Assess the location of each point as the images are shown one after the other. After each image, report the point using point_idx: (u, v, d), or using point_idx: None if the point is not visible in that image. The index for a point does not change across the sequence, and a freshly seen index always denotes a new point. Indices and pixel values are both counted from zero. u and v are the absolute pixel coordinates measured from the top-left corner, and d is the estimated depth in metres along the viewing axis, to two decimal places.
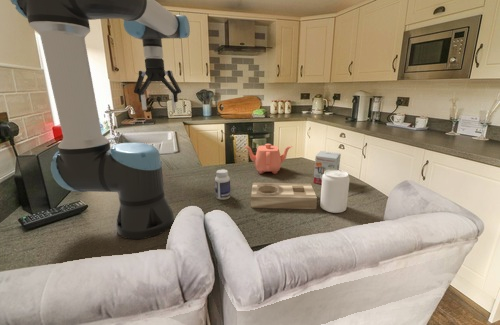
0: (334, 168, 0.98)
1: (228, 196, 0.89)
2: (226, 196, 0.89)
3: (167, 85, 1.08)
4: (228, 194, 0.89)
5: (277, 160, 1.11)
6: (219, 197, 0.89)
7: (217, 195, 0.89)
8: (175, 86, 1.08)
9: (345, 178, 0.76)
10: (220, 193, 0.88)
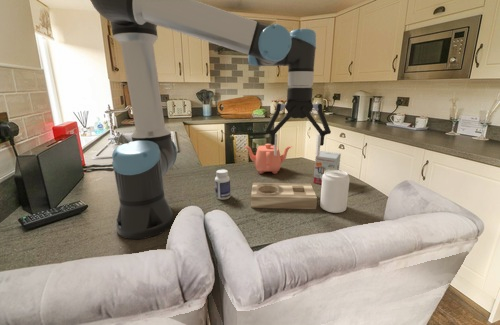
0: (334, 168, 0.98)
1: (228, 196, 0.89)
2: (226, 196, 0.89)
3: (315, 123, 0.78)
4: (228, 194, 0.89)
5: (277, 160, 1.11)
6: (219, 197, 0.89)
7: (217, 195, 0.89)
8: (326, 125, 0.78)
9: (345, 178, 0.76)
10: (220, 193, 0.88)
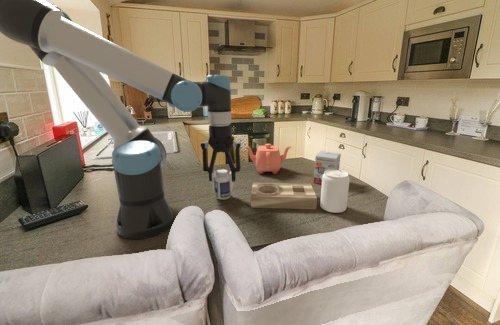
0: (334, 168, 0.98)
1: (228, 196, 0.89)
2: (226, 196, 0.89)
3: (229, 160, 0.86)
4: (228, 194, 0.89)
5: (277, 160, 1.11)
6: (219, 197, 0.89)
7: (217, 195, 0.89)
8: (237, 163, 0.86)
9: (345, 178, 0.76)
10: (220, 193, 0.88)
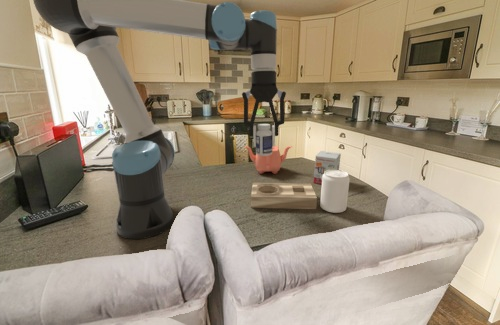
0: (334, 168, 0.98)
1: (270, 152, 0.82)
2: (268, 152, 0.81)
3: (273, 111, 0.79)
4: (270, 150, 0.82)
5: (277, 160, 1.11)
6: (261, 153, 0.81)
7: (259, 151, 0.82)
8: (282, 114, 0.79)
9: (345, 178, 0.76)
10: (262, 148, 0.81)
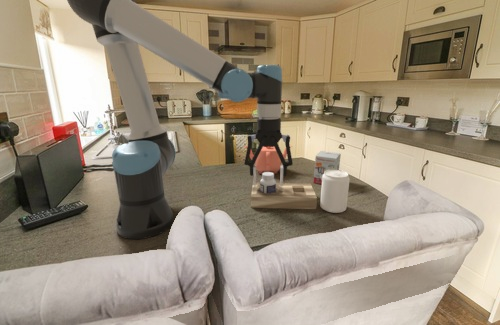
0: (334, 168, 0.98)
1: None
2: None
3: (280, 154, 0.82)
4: None
5: (277, 160, 1.11)
6: None
7: None
8: (289, 157, 0.82)
9: (345, 178, 0.76)
10: None
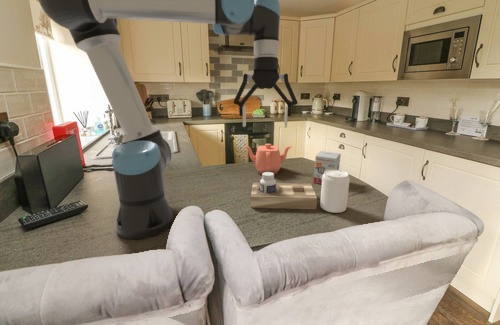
0: (334, 168, 0.98)
1: None
2: None
3: (281, 94, 0.79)
4: None
5: (277, 160, 1.11)
6: None
7: None
8: (292, 95, 0.79)
9: (345, 178, 0.76)
10: None
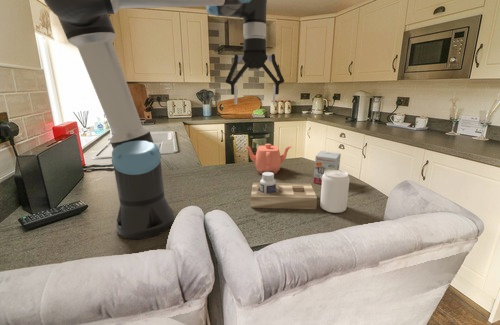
0: (334, 168, 0.98)
1: None
2: None
3: (269, 73, 0.86)
4: None
5: (277, 160, 1.11)
6: None
7: None
8: (279, 74, 0.86)
9: (345, 178, 0.76)
10: None
